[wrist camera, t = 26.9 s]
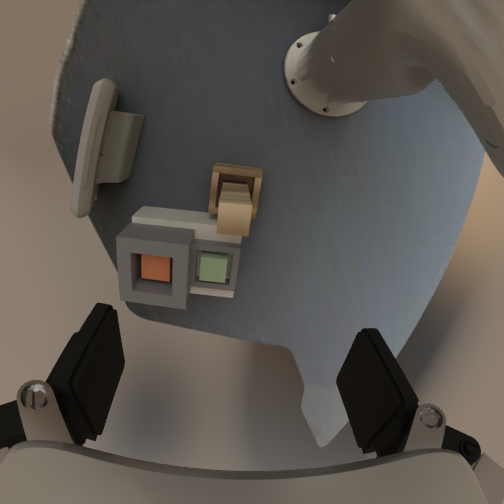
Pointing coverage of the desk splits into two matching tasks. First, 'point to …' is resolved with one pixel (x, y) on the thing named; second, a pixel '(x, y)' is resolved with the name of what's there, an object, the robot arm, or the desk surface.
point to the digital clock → (103, 146)
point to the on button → (213, 266)
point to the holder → (235, 174)
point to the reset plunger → (156, 267)
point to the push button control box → (173, 256)
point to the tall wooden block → (234, 209)
